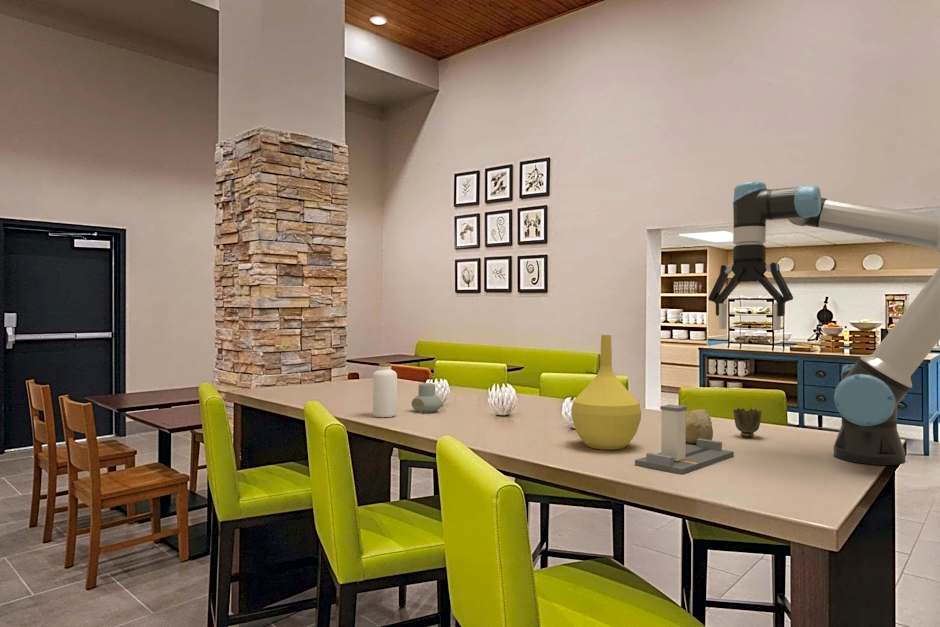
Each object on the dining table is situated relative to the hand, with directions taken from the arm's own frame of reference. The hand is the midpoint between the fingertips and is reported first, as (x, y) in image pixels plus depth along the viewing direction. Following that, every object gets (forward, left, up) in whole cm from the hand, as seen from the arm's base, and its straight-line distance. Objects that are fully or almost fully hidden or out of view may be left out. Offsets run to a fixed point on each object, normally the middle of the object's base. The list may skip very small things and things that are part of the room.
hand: (748, 329), depth 163 cm
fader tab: (+8, +23, -30) cm, 39 cm away
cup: (+10, -23, -32) cm, 41 cm away
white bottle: (+111, +31, -32) cm, 120 cm away
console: (+8, +17, -32) cm, 37 cm away
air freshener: (+109, +14, -32) cm, 114 cm away
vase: (+31, +17, -32) cm, 48 cm away
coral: (+17, -5, -32) cm, 37 cm away
